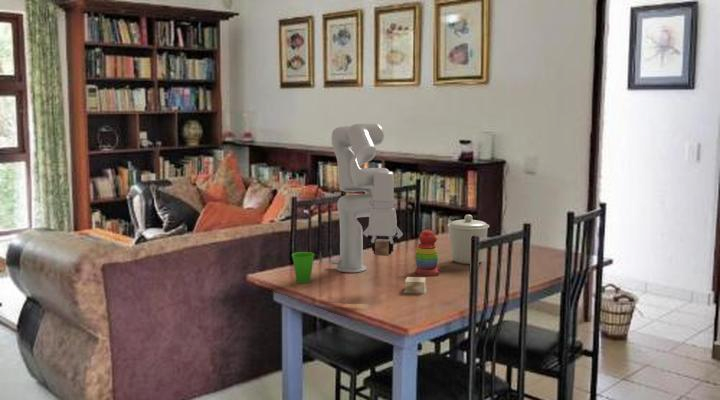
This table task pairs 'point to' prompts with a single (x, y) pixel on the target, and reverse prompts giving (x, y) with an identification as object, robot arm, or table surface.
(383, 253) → the walnut cube
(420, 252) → the stacking bear
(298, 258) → the cup
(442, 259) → the table surface
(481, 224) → the canister
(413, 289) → the oak base block
